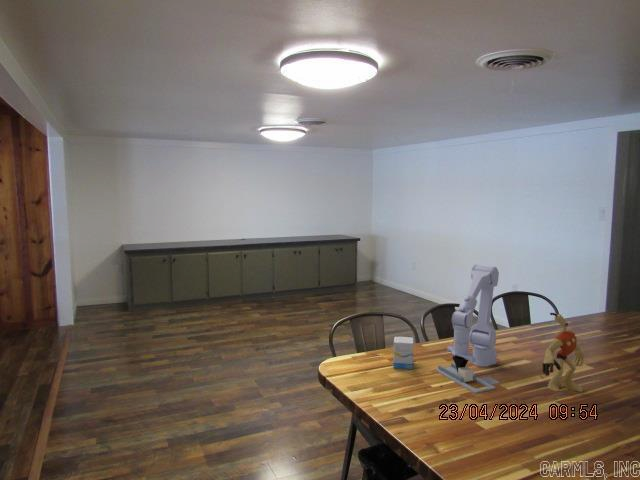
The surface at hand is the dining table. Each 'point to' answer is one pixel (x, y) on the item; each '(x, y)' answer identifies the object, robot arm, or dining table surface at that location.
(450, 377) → the rail board
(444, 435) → the dining table surface
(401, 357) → the ink box
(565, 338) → the toy
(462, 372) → the block
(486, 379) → the pad
